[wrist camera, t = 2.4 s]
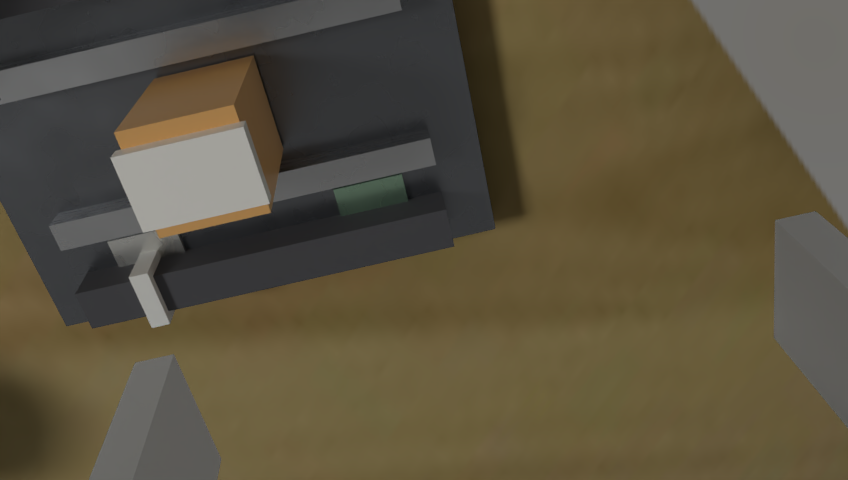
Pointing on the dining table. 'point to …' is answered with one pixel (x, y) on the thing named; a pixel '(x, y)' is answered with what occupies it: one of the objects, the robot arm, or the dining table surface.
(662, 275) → the dining table surface
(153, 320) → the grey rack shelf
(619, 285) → the dining table surface
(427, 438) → the dining table surface
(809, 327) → the robot arm
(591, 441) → the dining table surface
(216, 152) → the orange white block
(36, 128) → the panel
